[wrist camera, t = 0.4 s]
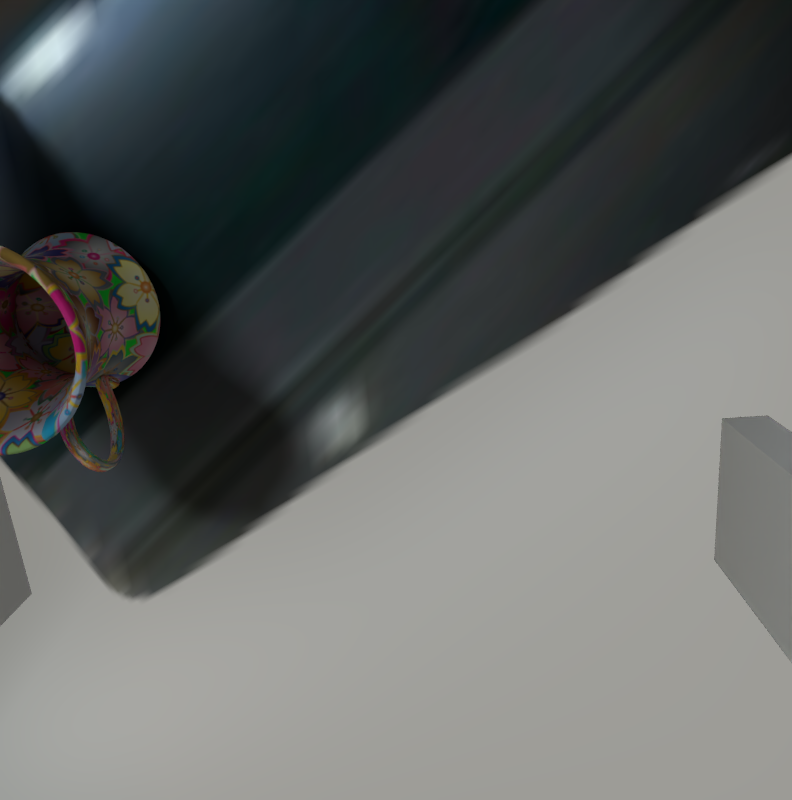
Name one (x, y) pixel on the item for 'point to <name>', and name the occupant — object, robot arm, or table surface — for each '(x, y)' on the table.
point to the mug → (70, 338)
